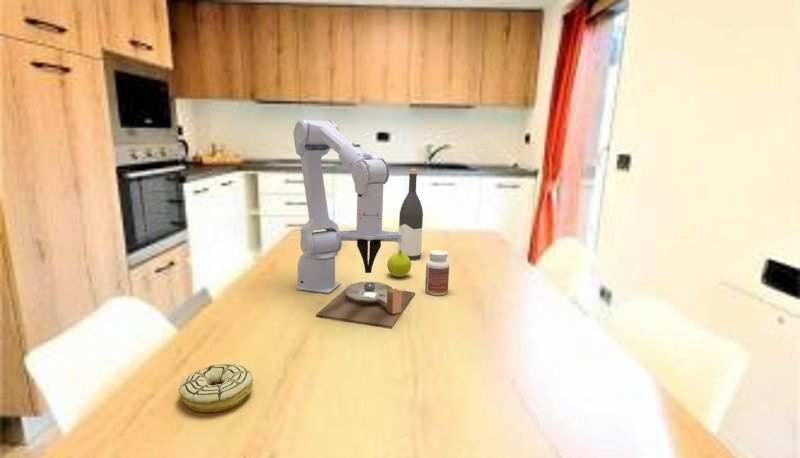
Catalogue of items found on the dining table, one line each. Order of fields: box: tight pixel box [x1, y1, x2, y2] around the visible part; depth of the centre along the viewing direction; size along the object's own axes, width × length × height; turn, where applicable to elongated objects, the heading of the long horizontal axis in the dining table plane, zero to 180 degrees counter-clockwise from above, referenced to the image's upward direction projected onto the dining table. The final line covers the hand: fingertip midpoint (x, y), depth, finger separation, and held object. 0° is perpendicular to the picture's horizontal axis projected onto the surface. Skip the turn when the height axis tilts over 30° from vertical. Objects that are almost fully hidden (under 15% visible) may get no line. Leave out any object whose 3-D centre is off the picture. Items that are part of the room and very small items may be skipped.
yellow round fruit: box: [386, 248, 412, 278], centre depth 132 cm, size 7×7×10 cm
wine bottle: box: [397, 168, 424, 261], centre depth 150 cm, size 8×8×30 cm
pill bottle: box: [424, 249, 450, 296], centre depth 120 cm, size 6×6×11 cm
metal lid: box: [344, 281, 402, 314], centre depth 110 cm, size 18×12×5 cm, turn 35°
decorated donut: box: [177, 363, 254, 414], centre depth 71 cm, size 10×11×4 cm
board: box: [315, 288, 416, 329], centre depth 110 cm, size 18×22×2 cm
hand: (368, 271), depth 103 cm, fingers closed
